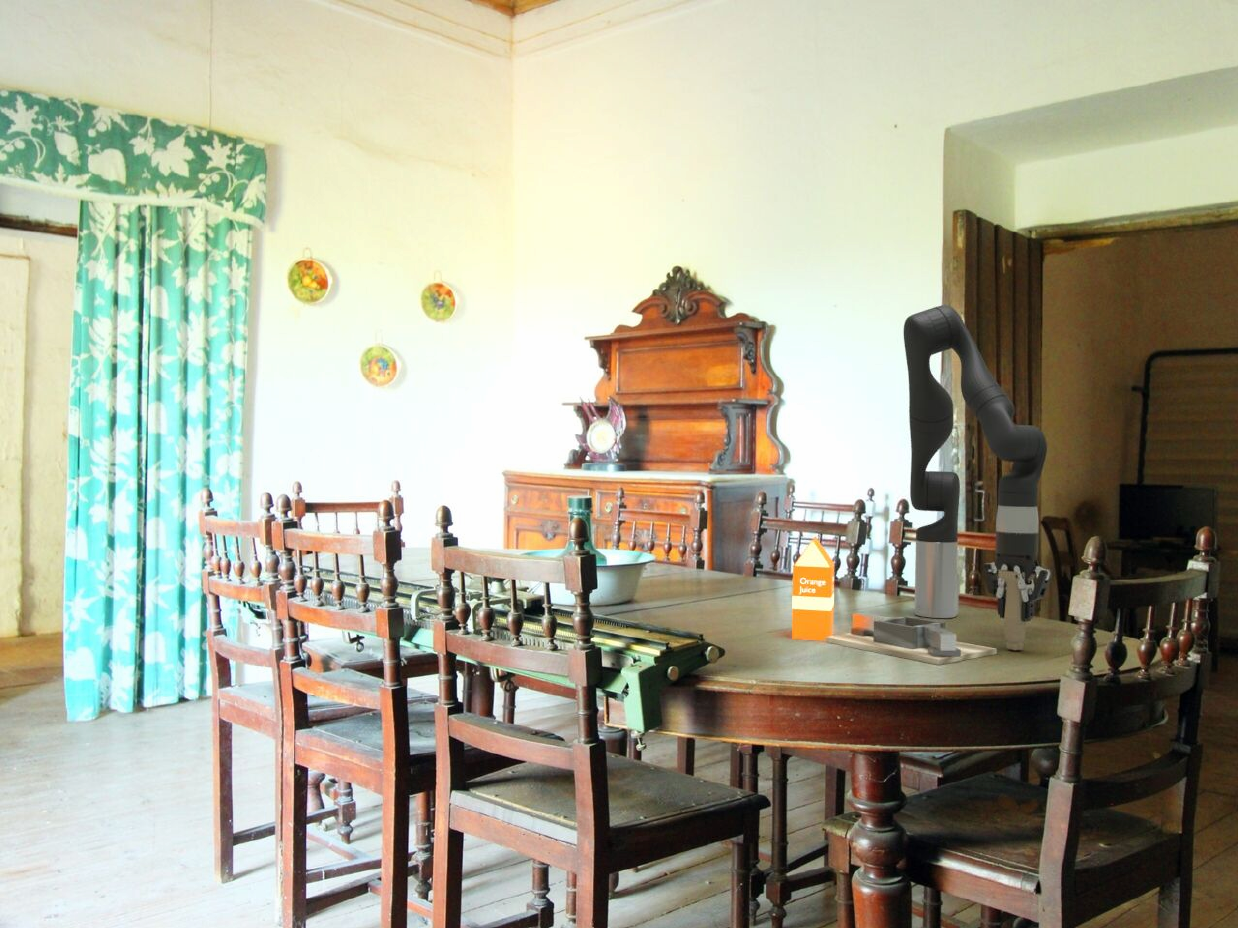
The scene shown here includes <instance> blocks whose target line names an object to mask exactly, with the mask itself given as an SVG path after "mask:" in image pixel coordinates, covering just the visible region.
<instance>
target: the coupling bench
mask: <svg viewBox="0 0 1238 928" xmlns="http://www.w3.org/2000/svg"><path fill="white" fill-rule="evenodd" d="M923 625H937V626H939V627H941V628H943V629H945V630H946V622H942V621H936V620H930V619H923V618H917V617H911V616H907V615H906V616H900V617H892V618H891V619H884V620H879V621H878V620H877V621H874V635H871V636H865V637H862V636H857V635H852V634H851V632H850V633H849V632H848V633H843V634H837V635H832V636H828V637H826V641H825V643H828V644H829V643H830V644H833V645H838V646H844V647H848V648H853V649H857V650H859V649H860V650H862V651H868V652H873V653H874V652H875V653H877V654H883V655H887V656H888V655H889V656H891V657H892V656H893V657H898V658H903V659H907V660H912V661H916V662H922V663H927V664H930V665H931V664H932V665H935V666H936V665H937V666H942V665H946V664H952V663H956V662H961V661H966V660H973V659H978V658H983V657H987V656H988V657H989V656H993V655H997V649H998V648H994V647H991V646H984V645H977V644H973V643H968V642H962V641H961V642H960V641H957V640H956V648H958V649H960V650H961V657H940V656H932V655H930V654H928V647H933V646H932V645H930V644H928V643H926V642H924V641H923V637H924V626H923Z"/></svg>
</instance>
